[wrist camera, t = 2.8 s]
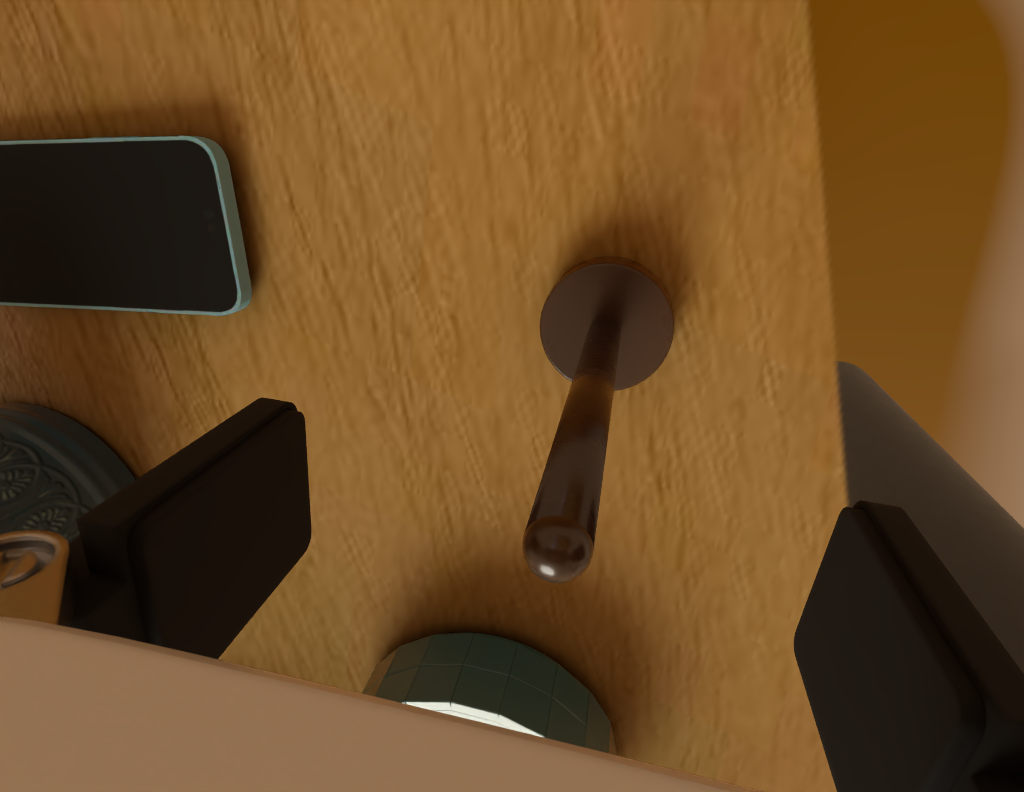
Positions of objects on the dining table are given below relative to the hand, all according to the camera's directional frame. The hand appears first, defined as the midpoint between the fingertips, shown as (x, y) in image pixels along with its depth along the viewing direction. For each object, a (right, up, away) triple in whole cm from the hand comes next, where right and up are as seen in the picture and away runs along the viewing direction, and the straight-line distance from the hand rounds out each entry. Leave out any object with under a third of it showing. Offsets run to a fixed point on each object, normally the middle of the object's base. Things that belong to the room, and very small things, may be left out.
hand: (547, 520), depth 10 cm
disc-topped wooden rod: (+3, +5, +13) cm, 15 cm away
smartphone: (-19, +10, +16) cm, 27 cm away
